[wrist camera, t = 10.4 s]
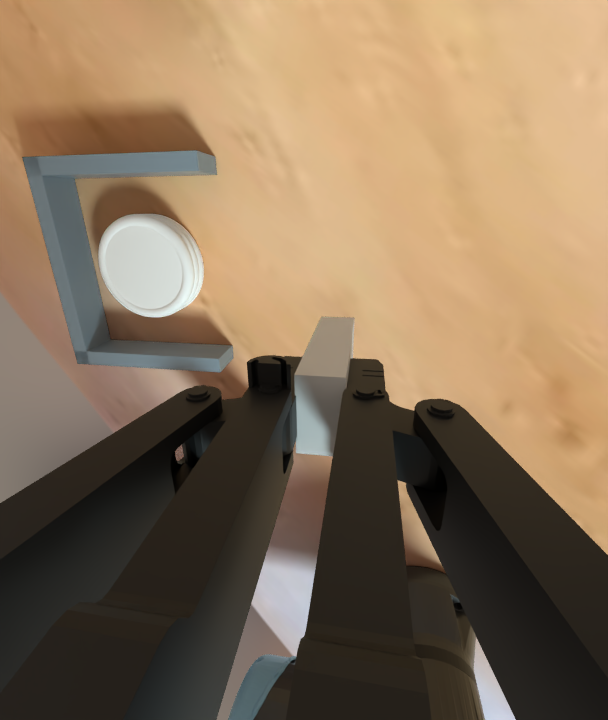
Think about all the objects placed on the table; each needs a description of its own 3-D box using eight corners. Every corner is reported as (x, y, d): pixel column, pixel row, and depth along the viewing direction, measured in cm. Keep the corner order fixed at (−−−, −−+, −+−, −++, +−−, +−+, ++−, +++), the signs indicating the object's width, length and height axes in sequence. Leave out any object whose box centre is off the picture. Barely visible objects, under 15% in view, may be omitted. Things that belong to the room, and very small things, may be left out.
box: (233, 357, 41) (220, 372, 38) (101, 350, 44) (77, 363, 40) (215, 156, 34) (196, 150, 30) (57, 162, 36) (22, 157, 33)
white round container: (107, 216, 38) (83, 217, 35) (197, 210, 36) (180, 210, 33) (129, 310, 42) (109, 319, 38) (212, 309, 40) (198, 318, 37)
